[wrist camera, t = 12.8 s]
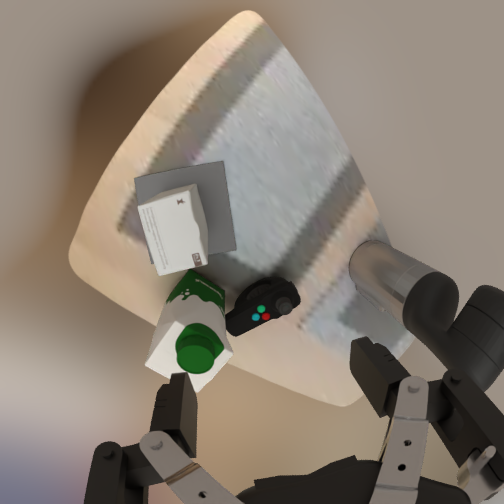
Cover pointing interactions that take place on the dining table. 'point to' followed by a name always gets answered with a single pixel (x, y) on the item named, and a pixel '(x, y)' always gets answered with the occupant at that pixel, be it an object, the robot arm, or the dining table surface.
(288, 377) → the dining table surface
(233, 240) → the mat
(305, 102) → the dining table surface
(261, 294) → the controller
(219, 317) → the milk carton
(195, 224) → the skincare box
